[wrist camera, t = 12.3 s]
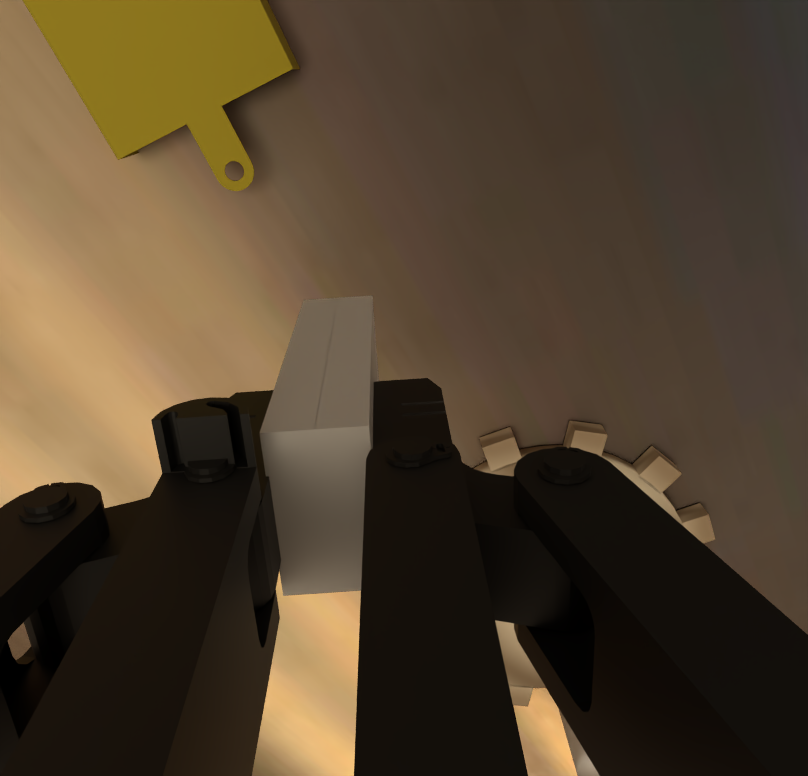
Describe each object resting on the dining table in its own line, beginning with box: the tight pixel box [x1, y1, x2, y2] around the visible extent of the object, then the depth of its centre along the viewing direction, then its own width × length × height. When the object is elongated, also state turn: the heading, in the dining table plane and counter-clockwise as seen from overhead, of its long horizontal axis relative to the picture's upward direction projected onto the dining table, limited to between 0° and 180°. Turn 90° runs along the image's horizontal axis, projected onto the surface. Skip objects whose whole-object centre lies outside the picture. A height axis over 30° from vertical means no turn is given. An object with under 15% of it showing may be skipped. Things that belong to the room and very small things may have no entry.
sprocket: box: [473, 421, 715, 776], centre depth 49 cm, size 23×23×12 cm
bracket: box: [23, 0, 300, 191], centre depth 38 cm, size 16×8×15 cm
